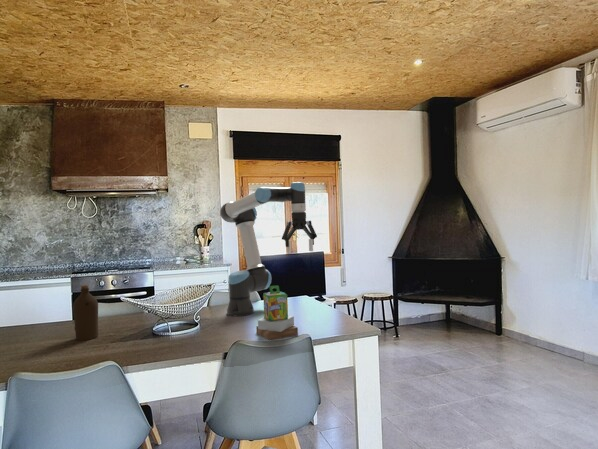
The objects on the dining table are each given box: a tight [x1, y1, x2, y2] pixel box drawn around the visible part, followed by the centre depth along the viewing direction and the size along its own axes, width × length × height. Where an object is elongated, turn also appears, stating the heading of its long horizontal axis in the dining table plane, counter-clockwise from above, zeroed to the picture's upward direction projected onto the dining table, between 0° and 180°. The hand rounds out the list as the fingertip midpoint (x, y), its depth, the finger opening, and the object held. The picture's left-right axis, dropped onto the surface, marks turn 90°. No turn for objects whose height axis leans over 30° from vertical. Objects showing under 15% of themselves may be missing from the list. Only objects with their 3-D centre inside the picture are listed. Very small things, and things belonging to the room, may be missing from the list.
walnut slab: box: [256, 325, 299, 341], centre depth 185 cm, size 14×14×4 cm
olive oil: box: [72, 284, 99, 342], centre depth 190 cm, size 11×11×25 cm
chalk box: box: [262, 285, 289, 321], centre depth 184 cm, size 9×9×15 cm
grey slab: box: [257, 315, 295, 332], centre depth 184 cm, size 12×12×4 cm
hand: (300, 252), depth 211 cm, fingers open, 13 cm apart
